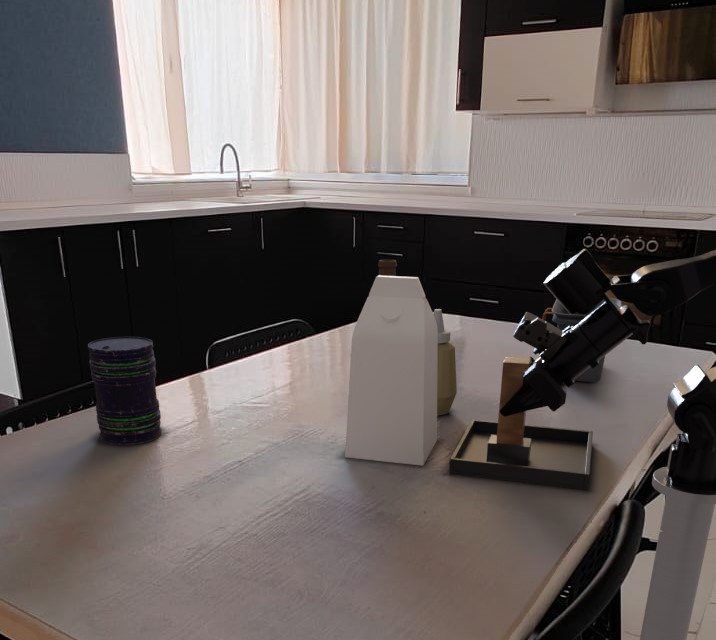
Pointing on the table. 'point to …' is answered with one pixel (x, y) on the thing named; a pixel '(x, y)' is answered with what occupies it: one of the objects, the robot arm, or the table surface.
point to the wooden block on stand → (510, 419)
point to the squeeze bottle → (445, 367)
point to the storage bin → (570, 320)
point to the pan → (547, 456)
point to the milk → (393, 375)
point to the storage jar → (125, 390)
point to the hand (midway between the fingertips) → (503, 409)
